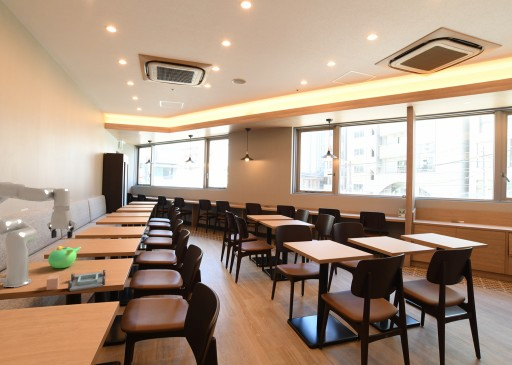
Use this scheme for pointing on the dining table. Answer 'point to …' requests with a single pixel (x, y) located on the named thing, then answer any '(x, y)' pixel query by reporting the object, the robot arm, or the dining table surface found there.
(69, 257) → the toy bird
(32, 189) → the robot arm
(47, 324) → the dining table surface
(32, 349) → the dining table surface
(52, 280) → the terracotta rectangular box
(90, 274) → the chassis
